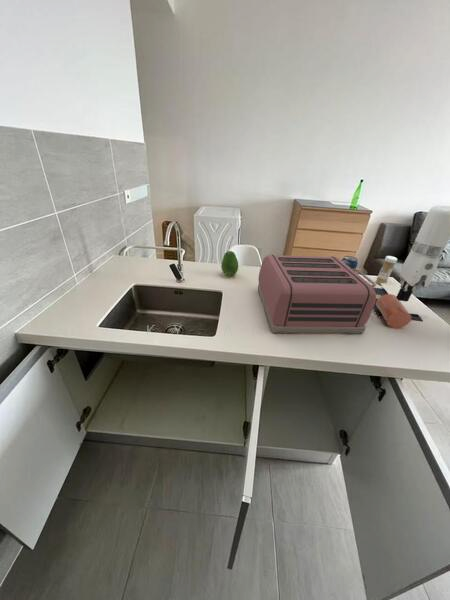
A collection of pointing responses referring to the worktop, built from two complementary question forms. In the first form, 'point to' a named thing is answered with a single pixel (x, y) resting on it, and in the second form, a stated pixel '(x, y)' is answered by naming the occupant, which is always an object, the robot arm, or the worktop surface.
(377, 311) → the mat
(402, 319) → the tumbler
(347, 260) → the soda can
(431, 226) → the robot arm
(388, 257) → the sprinkles bottle
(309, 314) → the toaster
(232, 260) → the fruit
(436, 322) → the worktop surface
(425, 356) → the worktop surface
